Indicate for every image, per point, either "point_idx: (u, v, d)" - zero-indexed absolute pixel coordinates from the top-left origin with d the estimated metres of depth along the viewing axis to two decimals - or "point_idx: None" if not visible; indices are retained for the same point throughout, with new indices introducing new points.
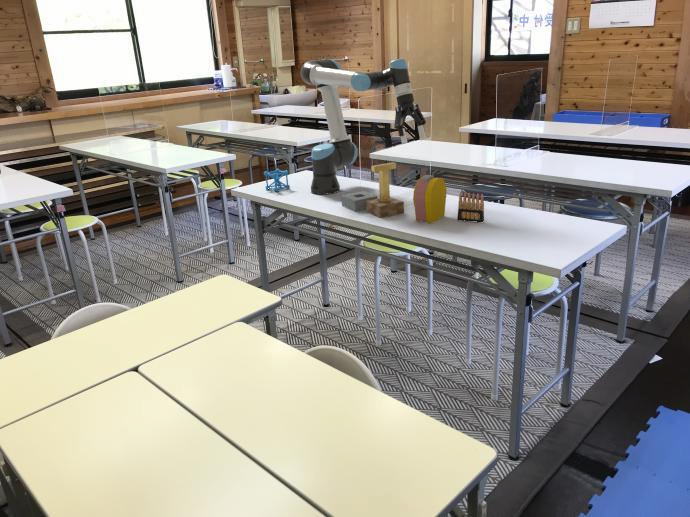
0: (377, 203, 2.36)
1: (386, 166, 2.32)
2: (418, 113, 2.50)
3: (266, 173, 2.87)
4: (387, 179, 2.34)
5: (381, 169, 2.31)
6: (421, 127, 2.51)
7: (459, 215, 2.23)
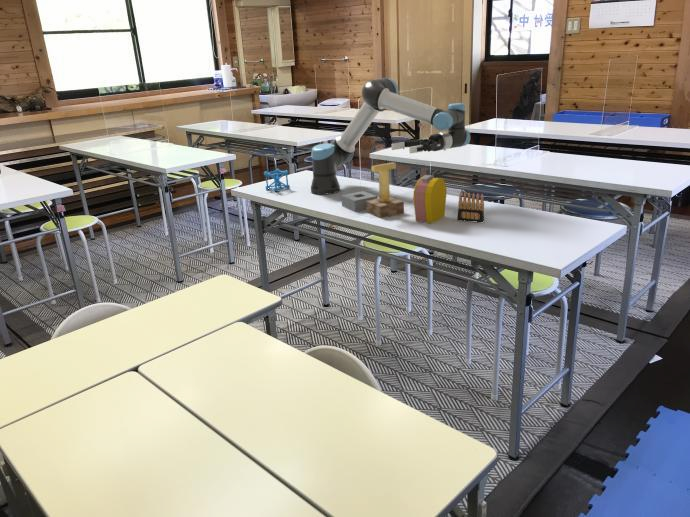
0: (377, 203, 2.36)
1: (386, 166, 2.32)
2: None
3: (266, 173, 2.87)
4: (387, 179, 2.34)
5: (381, 169, 2.31)
6: (402, 147, 2.43)
7: (459, 215, 2.23)
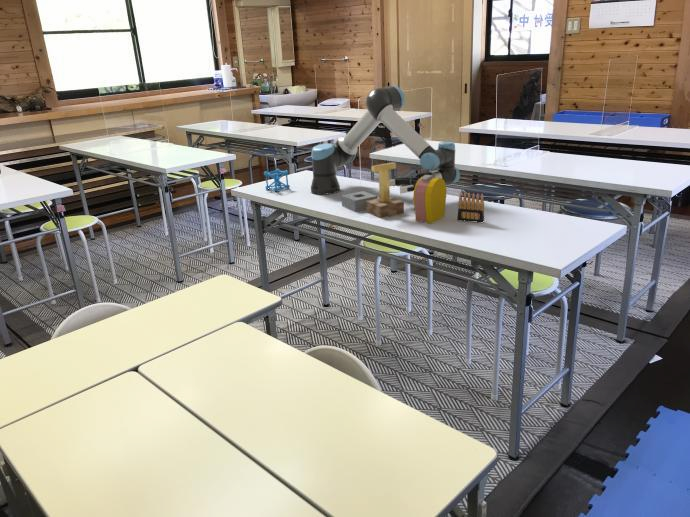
0: (377, 203, 2.36)
1: (386, 166, 2.32)
2: None
3: (266, 173, 2.87)
4: (388, 179, 2.34)
5: (381, 169, 2.31)
6: (393, 184, 2.45)
7: (459, 215, 2.23)
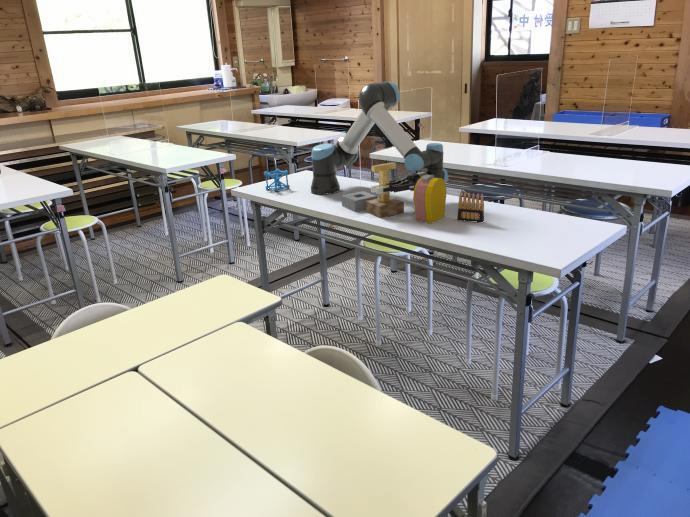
0: (377, 203, 2.36)
1: (386, 166, 2.32)
2: None
3: (266, 173, 2.87)
4: (387, 179, 2.34)
5: (381, 169, 2.31)
6: None
7: (459, 215, 2.23)
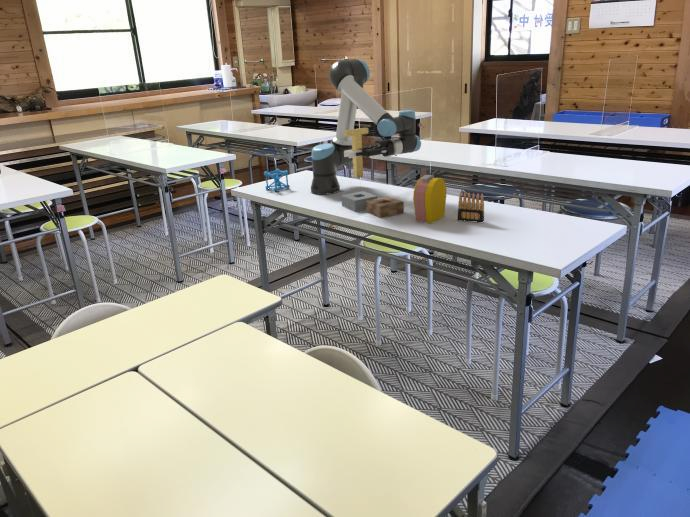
0: (377, 203, 2.36)
1: (358, 131, 2.38)
2: None
3: (266, 173, 2.87)
4: (360, 144, 2.40)
5: (353, 133, 2.37)
6: None
7: (459, 215, 2.23)
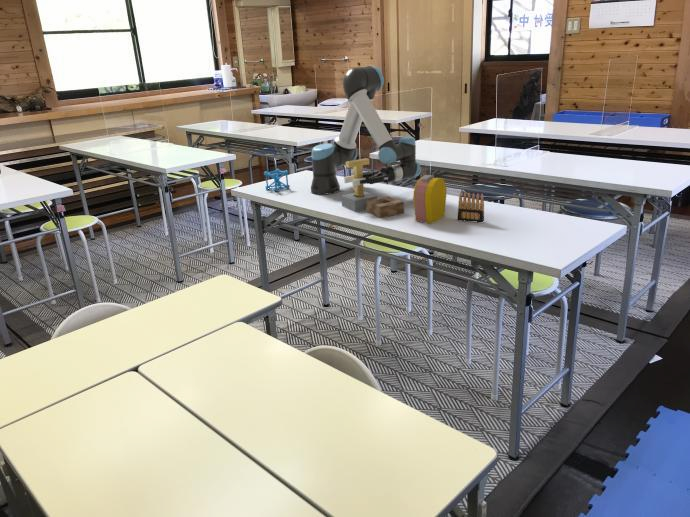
0: (377, 203, 2.36)
1: (360, 162, 2.43)
2: None
3: (266, 173, 2.87)
4: (361, 175, 2.45)
5: (355, 165, 2.42)
6: None
7: (459, 215, 2.23)
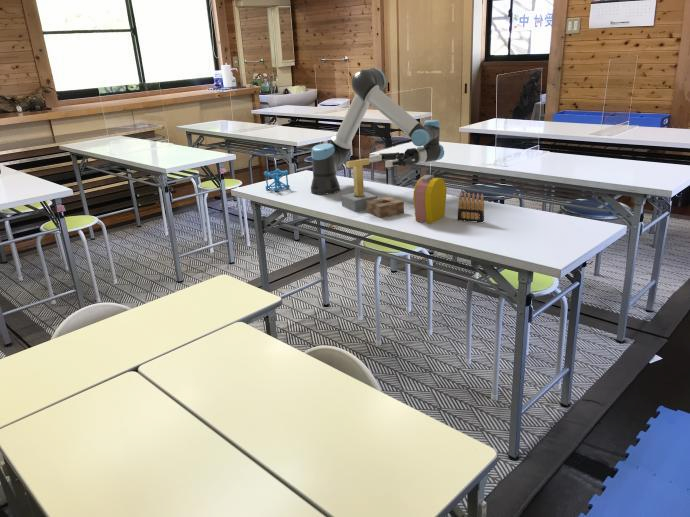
0: (377, 203, 2.36)
1: (360, 162, 2.43)
2: None
3: (266, 173, 2.87)
4: (361, 175, 2.45)
5: (355, 165, 2.42)
6: (380, 159, 2.56)
7: (459, 215, 2.23)
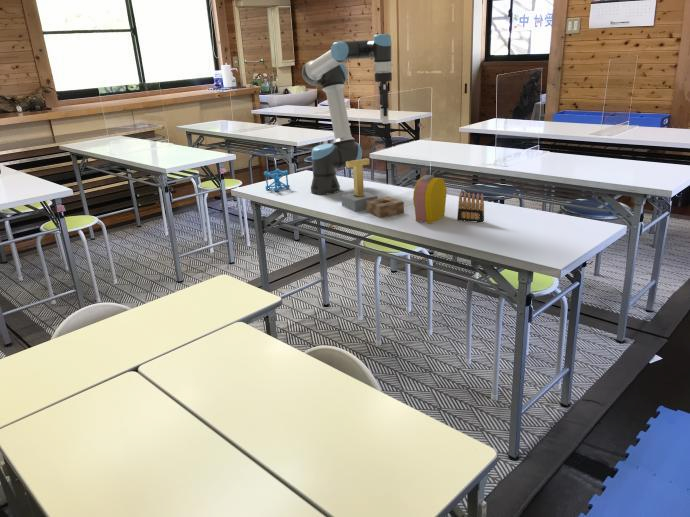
0: (377, 203, 2.36)
1: (360, 162, 2.43)
2: None
3: (266, 173, 2.87)
4: (361, 175, 2.45)
5: (355, 165, 2.42)
6: None
7: (459, 215, 2.23)
